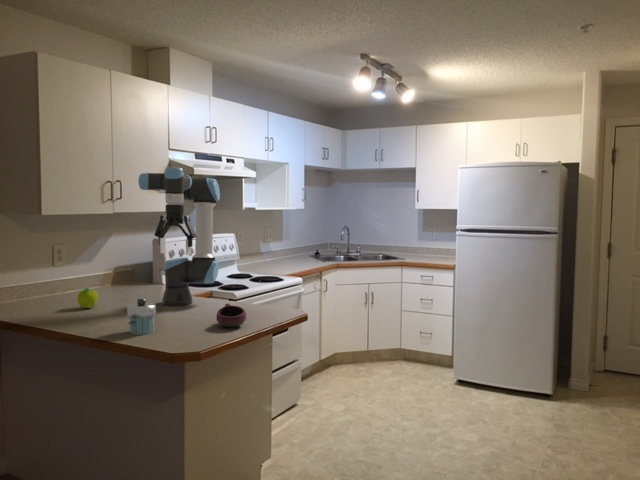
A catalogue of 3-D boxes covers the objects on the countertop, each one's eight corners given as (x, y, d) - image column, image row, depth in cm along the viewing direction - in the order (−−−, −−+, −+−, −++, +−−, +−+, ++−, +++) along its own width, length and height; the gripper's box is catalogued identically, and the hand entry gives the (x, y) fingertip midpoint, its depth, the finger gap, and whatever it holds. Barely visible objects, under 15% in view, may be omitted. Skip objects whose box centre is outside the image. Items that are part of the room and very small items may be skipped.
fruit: (75, 310, 256) (75, 290, 255) (80, 306, 265) (79, 286, 264) (96, 309, 258) (95, 289, 257) (99, 305, 267) (99, 286, 266)
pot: (144, 326, 226) (143, 310, 225) (161, 329, 222) (161, 312, 222) (121, 334, 214) (121, 317, 213) (139, 336, 210) (139, 319, 210)
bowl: (252, 326, 227) (252, 308, 227) (227, 332, 218) (227, 312, 218) (230, 320, 239) (229, 302, 238) (205, 325, 229) (205, 306, 229)
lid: (140, 310, 225) (140, 295, 224) (161, 313, 220) (161, 297, 220) (121, 316, 215) (121, 300, 214) (143, 318, 210) (142, 302, 210)
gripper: (145, 203, 228) (146, 253, 229) (193, 204, 218) (194, 256, 220) (157, 203, 234) (158, 251, 236) (204, 204, 225) (205, 254, 227)
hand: (175, 253), depth 228 cm, fingers open, 13 cm apart
